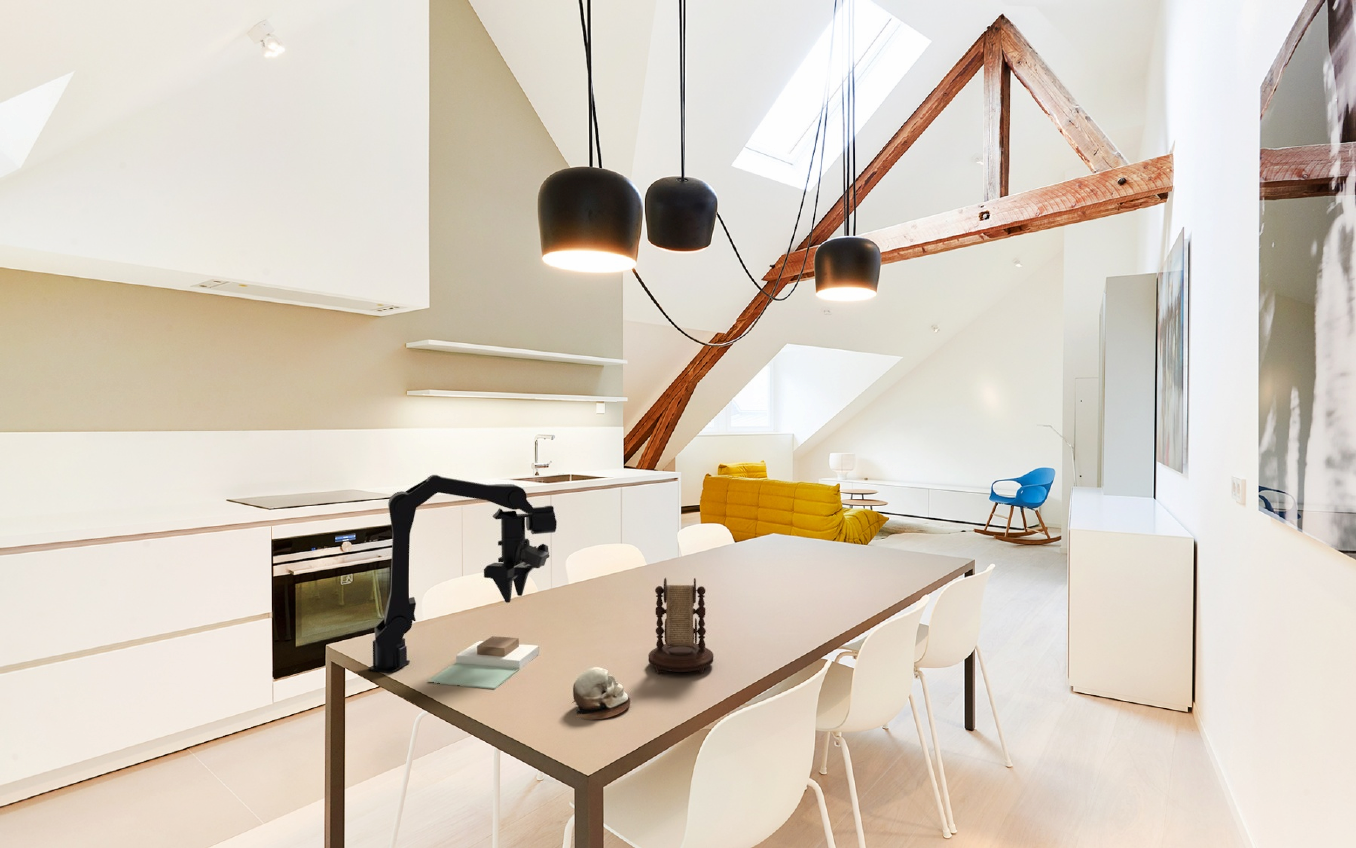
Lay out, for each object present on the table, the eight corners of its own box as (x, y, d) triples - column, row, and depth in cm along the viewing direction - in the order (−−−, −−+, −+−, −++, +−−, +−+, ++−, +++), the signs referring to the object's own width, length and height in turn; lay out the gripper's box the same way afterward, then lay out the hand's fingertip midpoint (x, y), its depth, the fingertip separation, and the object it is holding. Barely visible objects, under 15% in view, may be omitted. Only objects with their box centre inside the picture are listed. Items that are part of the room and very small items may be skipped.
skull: (626, 684, 138) (631, 660, 131) (629, 735, 130) (635, 712, 123) (568, 687, 135) (569, 662, 129) (568, 739, 128) (570, 715, 121)
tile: (477, 654, 153) (477, 646, 153) (492, 644, 160) (492, 636, 160) (504, 656, 151) (504, 648, 151) (518, 646, 158) (518, 638, 158)
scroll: (645, 678, 143) (644, 586, 143) (651, 654, 158) (651, 570, 158) (713, 679, 143) (712, 586, 142) (713, 654, 157) (712, 570, 157)
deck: (456, 664, 153) (456, 655, 153) (479, 649, 162) (479, 641, 162) (519, 669, 149) (519, 660, 149) (539, 654, 159) (539, 645, 159)
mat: (427, 682, 142) (427, 681, 142) (455, 664, 153) (455, 663, 153) (494, 689, 138) (494, 687, 138) (519, 670, 149) (519, 668, 149)
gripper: (525, 544, 152) (526, 611, 152) (559, 530, 170) (559, 591, 170) (482, 542, 155) (482, 609, 155) (519, 529, 173) (520, 588, 173)
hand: (514, 599), depth 163 cm, fingers open, 6 cm apart
